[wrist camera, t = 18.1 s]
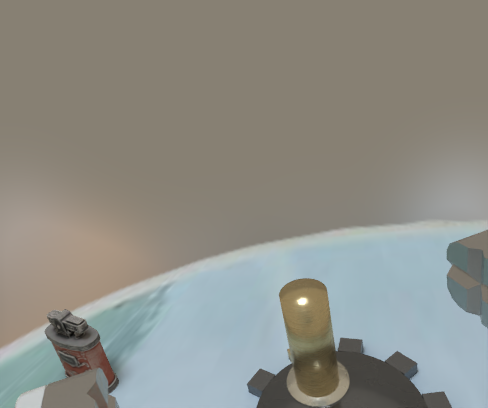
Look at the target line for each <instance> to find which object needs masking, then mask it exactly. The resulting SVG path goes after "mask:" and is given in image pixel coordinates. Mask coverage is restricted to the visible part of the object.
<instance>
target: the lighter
mask: <svg viewBox="0 0 488 408" xmlns="http://www.w3.org/2000/svg"><path fill="white" fill-rule="evenodd" d="M47 317H48V319H49V322H50V323H51V324H50V325H49V326H48V327H47V328H46V330H45V334H46V336H47V338H48V339H49V340H50V341H51V342H52V344H53V346H54V348H55V350H56V352H57V354H58V356H59V358H60V360H61V362H62V364H63V366H64V368H65V370H66V371H65V375H66V377H67V378H68V377H71V376H74V375H77V374H80V373H84V372H87V371H90V370H93V369H96V368H100V369H102V370H103V372H104V374H105V376H106V378H107V380H108V394H109V393H111V392H112V391H113V390H114V389H115V388H116V387H117V385H118V383H119V380H118V378H117V376H116V374H115V373H114V372H113V371H112V368H111V366H110V364H109V361H108V359H107V357H106V354H105V352H104V350H103V347H102V345H101V343H100V336H99V333H98V331H97V330H95V329H94V328H92V327H91V326H89V325H87V322H86V320H85V319H82V318H79V317H76V316H73V315H72V314H71V312H70V311H68V310H66V309H65V310H63V311H62V312H61V311H57V310H53V311H51V312H49V313H48V314H47Z"/></svg>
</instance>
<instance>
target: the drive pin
mask: <svg viewBox="0 0 488 408" xmlns="http://www.w3.org/2000/svg"><path fill="white" fill-rule="evenodd" d="M279 297H280V302H281V307H282V312H283V318H284V323H285V328H286V333H287V338H288V343H289V348H290V353H291V358H292V363H293V368H294V373H295V378H296V383H297V386H298V388H299V390H300V391H301V392H302V393H304V394H305V395H307V396H310V397H325V396H328V395H330V394H331V393H333V392H334V391H335V390H336V389H337V387H338V385H339V372H338V365H337V358H336V351H335V344H334V337H333V330H332V323H331V315H330V308H329V301H328V294H327V288H326V286H325V285H324V284H323V283H322V282H320V281H318V280H315V279H298V280H294V281H291V282H289V283H288V284H286V285H285V286H284V287H283V288H282V289H281V291H280V293H279Z"/></svg>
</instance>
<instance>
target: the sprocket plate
mask: <svg viewBox="0 0 488 408" xmlns="http://www.w3.org/2000/svg"><path fill="white" fill-rule="evenodd" d="M287 351H288V356H289V359H290V361H291V362H292V358H291V353H290V349H287ZM362 352H363V342H362V340H359V339H348V338H340V343H339V348H338V351H336V358H337V365H338V372H339V385H338V387H337V389H336V390H335V391H334V392H333V393H331V394H330V395H328V396H325V397H310V396H307V395H305V394H304V393H302V392H301V391H300V390H299V388H298V386H297V383H296V378H295V373H294V368H293V363H292V364H290V365H288V366H287V367H285V368H284V369H283V370H281V371H280V372H279V373H278V374H277V375H276V376H275V375H274V374H272V373H269V372H267V371H265V370H263V369H259V370H258V372H257V373H256V374H255V375H254V376H253V378H252V379H251V380H250V381H249V382H248V384H247V386H248V389H249V392H250V393H252V394H254V395H256V396H258V397H260V399H259V402H258V405H257V408H452V407H451V405H450V403H449V401H448V399H447V397H446V395H445V393H444V392H435V393H427V394H422V395H421V394H420V392H419V391H418V389H417V388H416V387H415V385H414V384H413V383H412V382H411V381H410V380H409V379H410V378H411V377H412V376H413V375H414V374H416V373H417V363H416V362H414V361H413V360H411V359H409V358H408V357H406V356H404V355H403V354H401V353H399V352H398V351H397V352H395V353H394V354H393V355H392V356H391V357H389V358H388V359H387V360H386V361H385V362H383V361H381V360H379V359H376V358H374V357H371V356H368V355H364V354H362Z"/></svg>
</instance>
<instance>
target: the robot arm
mask: <svg viewBox="0 0 488 408" xmlns="http://www.w3.org/2000/svg"><path fill="white" fill-rule="evenodd" d="M447 260H448V261H449V262H450V263H451V264H452V267H451V269H450V270H449V272H448V274H447V287H448V290H449V292H450V294H451V296H452V298H453V300H454V301H455V302H456V303H457V305H458V306H459V307H461V308H462V309H463V310H465V311H466V312H468V313H472V314H476V315H479V316H480V318H481V322H482V324H483V325H484V326H485V327H487V328H488V229H487V230H486V231H483V232H481V233H478V234H475V235H472V236H469V237H467V238H464V239H461V240H458V241H456V242H453V243H450V244H449V246H448V249H447ZM15 408H119V405H118V403H117V401H116V398H115V397H113V396H111V395H108V380H107V378H106V376H105V374H104V372H103V370H102V369H100V368H96V369H93V370H90V371H87V372H84V373H80V374H77V375H74V376H71V377H68V378H65V379H62V380H59V381H56V382H53V383H50V384H48V385H45V386H42V387H39V388H36V389H33V390H30V391H27V392H24V393H22V394H21V395H20V396H19V397H18V399H17V401H16V405H15Z"/></svg>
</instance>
